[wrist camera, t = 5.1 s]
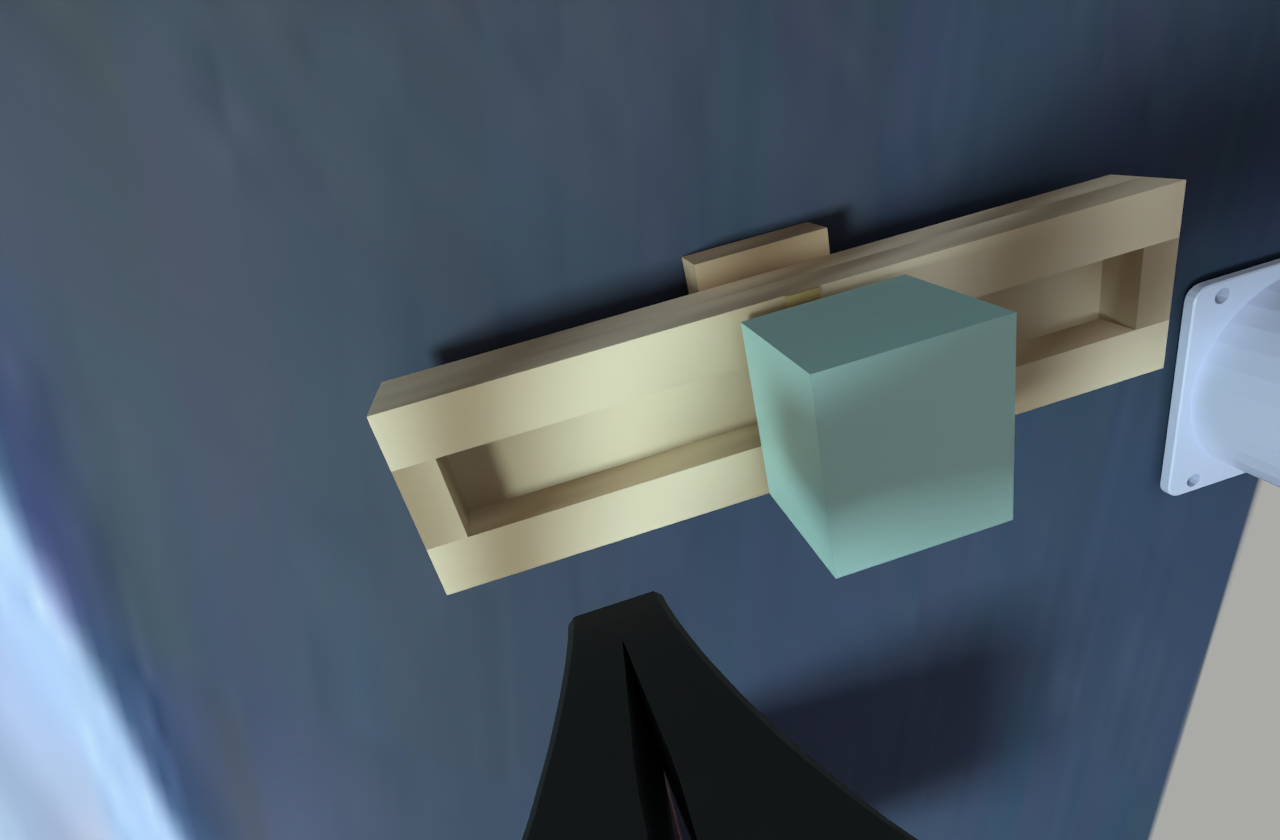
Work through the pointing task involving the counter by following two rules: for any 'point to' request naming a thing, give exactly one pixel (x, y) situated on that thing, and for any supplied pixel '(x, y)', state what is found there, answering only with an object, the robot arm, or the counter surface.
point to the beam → (719, 376)
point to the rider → (886, 417)
